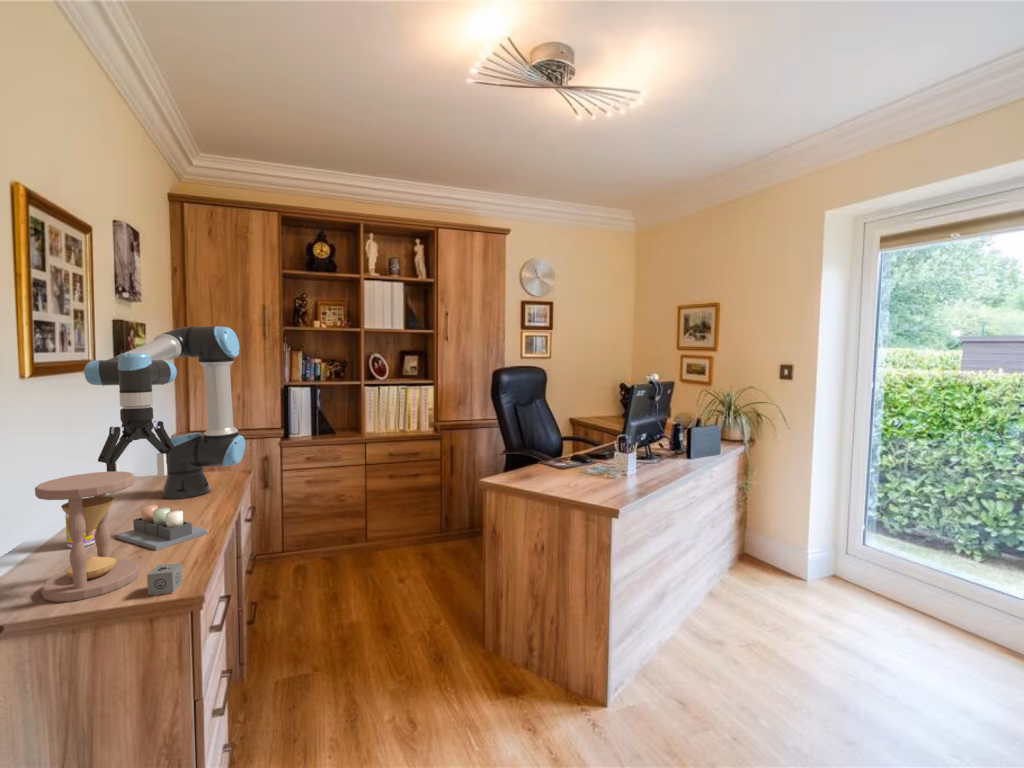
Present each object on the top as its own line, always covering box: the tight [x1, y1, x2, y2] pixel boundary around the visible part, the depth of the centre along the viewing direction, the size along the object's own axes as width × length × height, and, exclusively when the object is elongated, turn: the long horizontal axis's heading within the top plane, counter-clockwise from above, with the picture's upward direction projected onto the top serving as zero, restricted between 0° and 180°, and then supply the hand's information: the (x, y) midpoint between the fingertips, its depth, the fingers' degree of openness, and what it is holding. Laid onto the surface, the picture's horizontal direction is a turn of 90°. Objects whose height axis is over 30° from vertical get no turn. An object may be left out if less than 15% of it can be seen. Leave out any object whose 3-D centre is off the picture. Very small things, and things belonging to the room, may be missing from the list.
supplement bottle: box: [65, 498, 97, 549], centre depth 140 cm, size 7×7×13 cm
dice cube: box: [146, 562, 183, 596], centre depth 114 cm, size 5×5×5 cm
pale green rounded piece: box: [153, 507, 171, 525], centre depth 147 cm, size 4×4×4 cm
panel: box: [117, 517, 208, 551], centre depth 147 cm, size 14×20×4 cm
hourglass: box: [34, 470, 140, 603], centre depth 116 cm, size 18×18×25 cm
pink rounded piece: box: [140, 504, 159, 522], centre depth 149 cm, size 4×4×4 cm
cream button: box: [166, 510, 184, 529], centre depth 144 cm, size 4×4×4 cm
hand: (139, 480), depth 142 cm, fingers open, 13 cm apart
